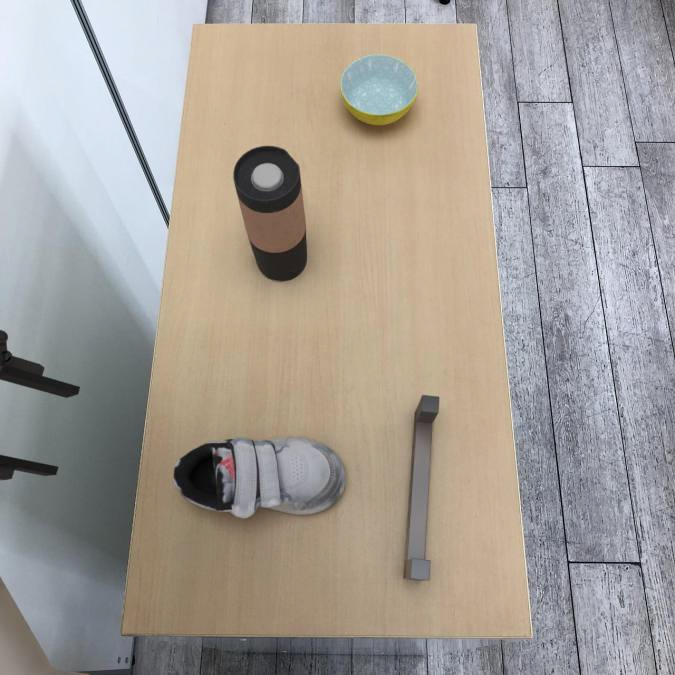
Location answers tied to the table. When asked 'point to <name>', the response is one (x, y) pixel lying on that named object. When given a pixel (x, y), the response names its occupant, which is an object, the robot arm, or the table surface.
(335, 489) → the sneaker
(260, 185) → the travel mug
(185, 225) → the table surface
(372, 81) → the bowl
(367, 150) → the table surface
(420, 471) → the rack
